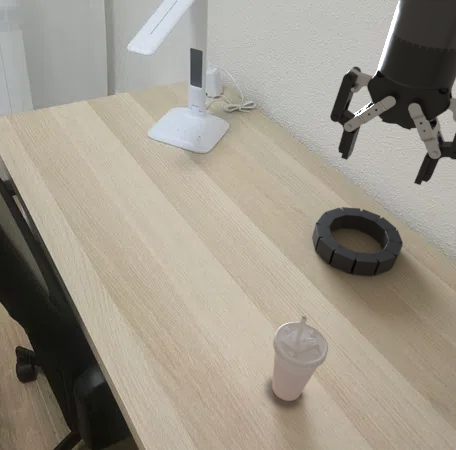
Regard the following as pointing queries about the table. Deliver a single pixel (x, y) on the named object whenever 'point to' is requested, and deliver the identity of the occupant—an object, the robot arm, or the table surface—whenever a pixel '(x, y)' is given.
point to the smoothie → (296, 357)
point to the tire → (352, 259)
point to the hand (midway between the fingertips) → (381, 168)
